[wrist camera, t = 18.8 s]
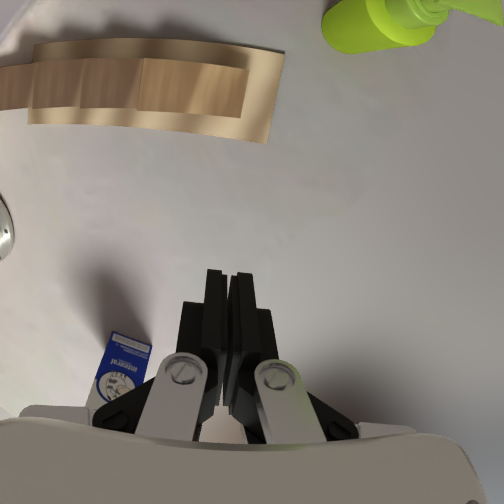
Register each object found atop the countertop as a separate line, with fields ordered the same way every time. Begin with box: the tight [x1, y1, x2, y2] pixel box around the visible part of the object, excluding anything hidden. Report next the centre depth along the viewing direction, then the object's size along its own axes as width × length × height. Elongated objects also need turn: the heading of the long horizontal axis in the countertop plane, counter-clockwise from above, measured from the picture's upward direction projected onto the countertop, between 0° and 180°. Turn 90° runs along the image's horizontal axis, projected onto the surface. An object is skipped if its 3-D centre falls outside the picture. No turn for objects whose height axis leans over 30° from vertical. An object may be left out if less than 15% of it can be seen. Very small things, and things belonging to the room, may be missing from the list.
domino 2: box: [32, 59, 85, 109], centre depth 26 cm, size 2×5×10 cm
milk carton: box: [85, 332, 152, 410], centre depth 40 cm, size 7×7×20 cm
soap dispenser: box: [321, 0, 504, 54], centre depth 18 cm, size 6×7×20 cm
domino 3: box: [80, 58, 143, 109], centre depth 27 cm, size 2×5×10 cm
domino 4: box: [136, 58, 250, 118], centre depth 27 cm, size 2×5×10 cm
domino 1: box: [0, 63, 36, 111], centre depth 25 cm, size 2×5×10 cm
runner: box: [28, 38, 285, 144], centre depth 29 cm, size 29×10×1 cm, turn 80°
